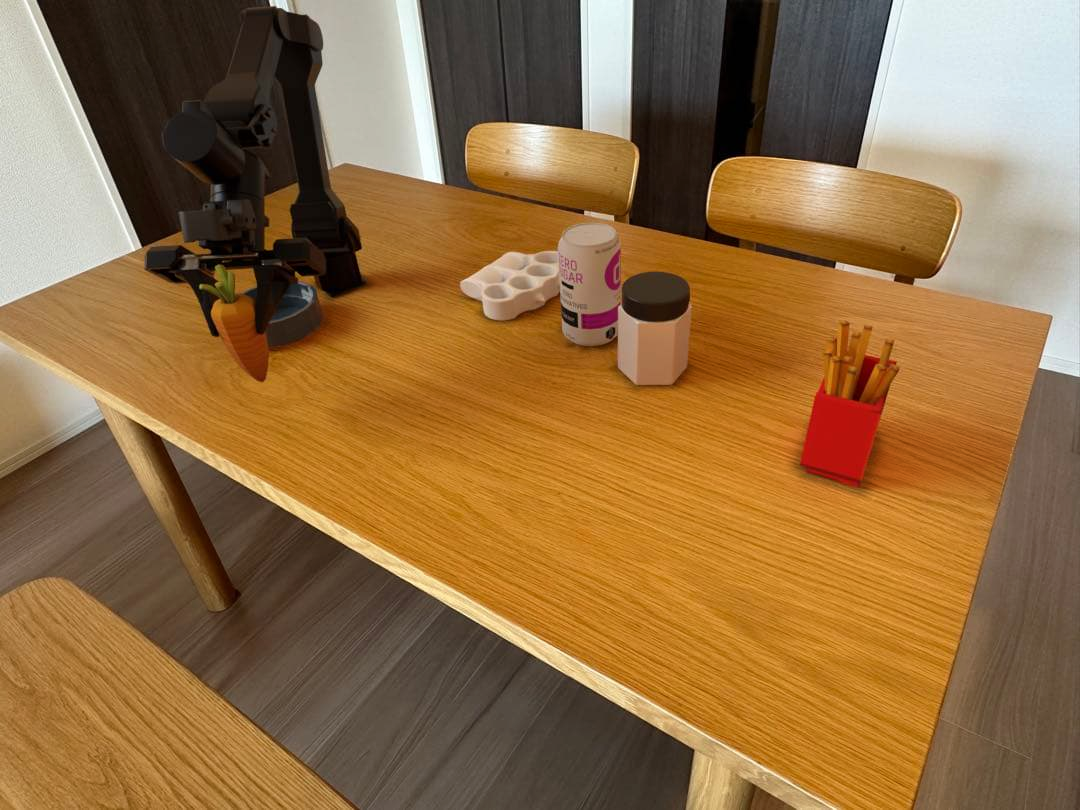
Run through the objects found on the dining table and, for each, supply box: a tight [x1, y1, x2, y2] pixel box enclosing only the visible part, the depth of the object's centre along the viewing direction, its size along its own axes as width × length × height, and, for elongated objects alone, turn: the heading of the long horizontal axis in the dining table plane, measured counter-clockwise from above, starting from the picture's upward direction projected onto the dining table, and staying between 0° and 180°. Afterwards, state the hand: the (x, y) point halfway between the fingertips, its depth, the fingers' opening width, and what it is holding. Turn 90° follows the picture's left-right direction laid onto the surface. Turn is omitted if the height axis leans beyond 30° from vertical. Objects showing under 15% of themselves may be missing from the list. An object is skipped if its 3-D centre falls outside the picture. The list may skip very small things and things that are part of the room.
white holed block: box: [459, 250, 560, 322], centre depth 108 cm, size 3×18×15 cm
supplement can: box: [557, 222, 622, 347], centre depth 94 cm, size 8×8×15 cm
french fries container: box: [799, 320, 901, 489], centre depth 72 cm, size 7×9×14 cm
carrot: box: [199, 265, 270, 383], centre depth 79 cm, size 5×5×15 cm
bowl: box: [240, 280, 325, 349], centre depth 104 cm, size 13×13×4 cm
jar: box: [617, 270, 693, 386], centre depth 87 cm, size 9×8×12 cm
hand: (237, 335), depth 78 cm, fingers closed on carrot, 5 cm apart
